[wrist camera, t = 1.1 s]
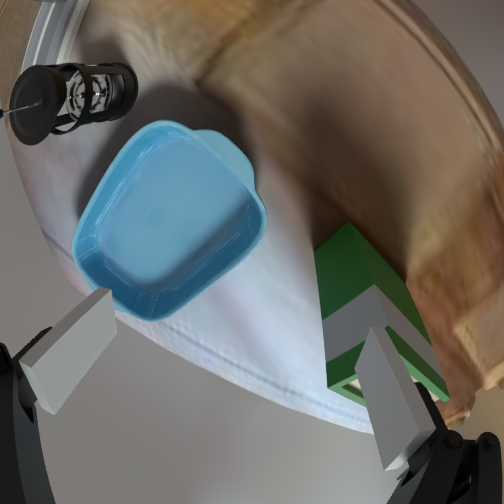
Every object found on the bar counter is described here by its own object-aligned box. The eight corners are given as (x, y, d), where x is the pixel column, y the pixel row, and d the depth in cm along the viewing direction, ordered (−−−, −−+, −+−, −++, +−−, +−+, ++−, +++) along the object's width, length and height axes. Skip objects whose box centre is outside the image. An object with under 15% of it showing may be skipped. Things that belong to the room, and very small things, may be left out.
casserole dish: (186, 85, 32) (165, 84, 26) (300, 194, 39) (302, 215, 33) (78, 242, 48) (58, 262, 42) (160, 312, 55) (148, 337, 49)
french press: (153, 92, 32) (27, 112, 13) (113, 135, 36) (-4, 190, 17) (110, 45, 28) (-15, 43, 9) (75, 89, 32) (-42, 119, 12)
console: (61, -26, 18) (53, -28, 16) (106, -34, 19) (98, -37, 17) (21, 95, 31) (12, 97, 29) (58, 102, 33) (48, 104, 31)
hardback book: (405, 284, 45) (450, 398, 24) (374, 307, 48) (402, 423, 28) (348, 221, 40) (396, 350, 20) (313, 251, 43) (327, 387, 23)
